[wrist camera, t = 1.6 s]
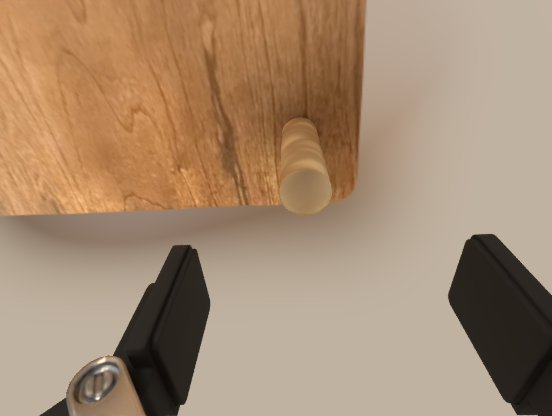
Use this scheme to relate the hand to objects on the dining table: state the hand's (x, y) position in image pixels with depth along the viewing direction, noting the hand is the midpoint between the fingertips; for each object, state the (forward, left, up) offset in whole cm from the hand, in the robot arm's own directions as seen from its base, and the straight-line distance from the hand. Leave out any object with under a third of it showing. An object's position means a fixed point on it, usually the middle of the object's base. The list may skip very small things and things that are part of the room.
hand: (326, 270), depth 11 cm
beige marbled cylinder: (0, +3, -22) cm, 22 cm away
